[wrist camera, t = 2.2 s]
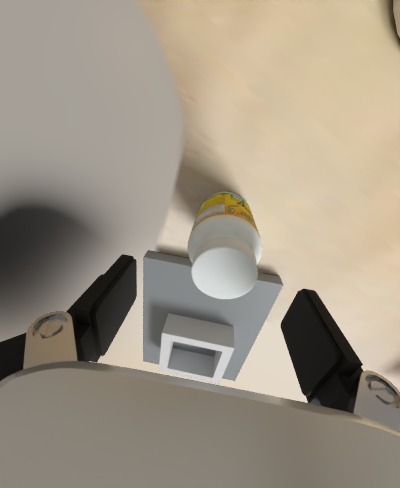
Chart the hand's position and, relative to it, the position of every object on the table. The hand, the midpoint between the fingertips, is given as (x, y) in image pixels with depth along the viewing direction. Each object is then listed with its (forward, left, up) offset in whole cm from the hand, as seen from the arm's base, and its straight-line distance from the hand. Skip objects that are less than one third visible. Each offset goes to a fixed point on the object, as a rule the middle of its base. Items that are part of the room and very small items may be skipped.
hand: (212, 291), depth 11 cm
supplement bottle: (-1, 0, -11) cm, 11 cm away
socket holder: (+16, 0, -10) cm, 19 cm away
